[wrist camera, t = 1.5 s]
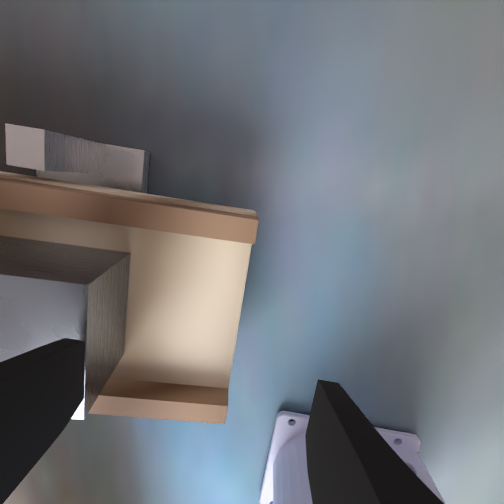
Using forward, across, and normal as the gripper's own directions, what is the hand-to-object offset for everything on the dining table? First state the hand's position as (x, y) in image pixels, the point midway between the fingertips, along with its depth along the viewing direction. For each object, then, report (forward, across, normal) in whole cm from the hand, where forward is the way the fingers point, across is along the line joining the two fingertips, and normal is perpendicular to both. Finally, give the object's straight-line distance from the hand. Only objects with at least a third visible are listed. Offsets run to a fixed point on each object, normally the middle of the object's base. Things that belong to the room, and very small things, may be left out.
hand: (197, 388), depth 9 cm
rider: (+4, +7, 0) cm, 8 cm away
